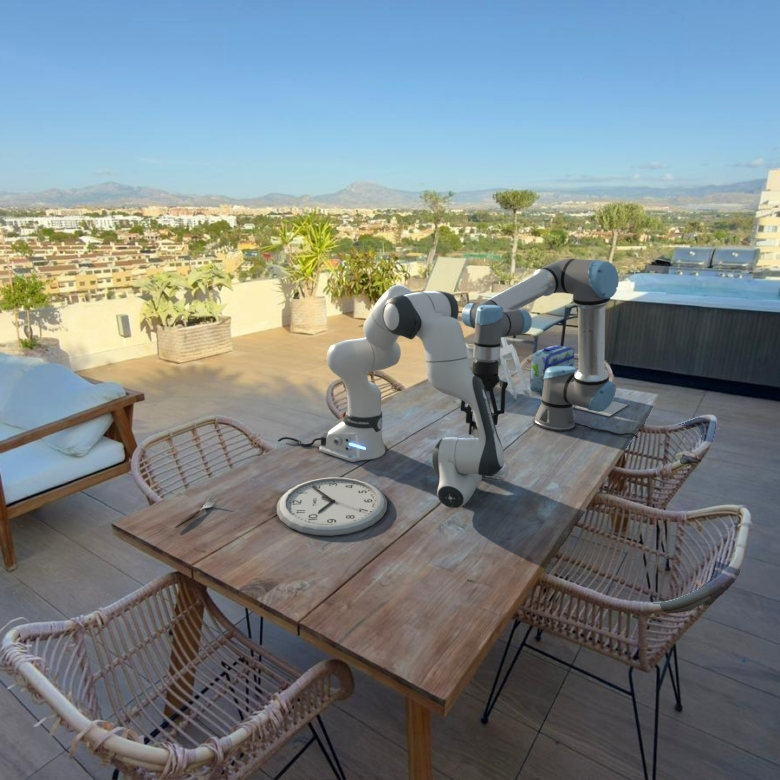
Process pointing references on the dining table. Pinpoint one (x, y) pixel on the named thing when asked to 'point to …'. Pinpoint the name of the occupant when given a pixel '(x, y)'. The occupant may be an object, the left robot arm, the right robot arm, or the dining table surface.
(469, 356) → the white plastic object
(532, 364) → the lunch box
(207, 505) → the fork
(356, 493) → the wall clock
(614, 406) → the invitation card
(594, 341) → the right robot arm
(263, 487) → the dining table surface
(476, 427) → the lid
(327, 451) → the left robot arm
